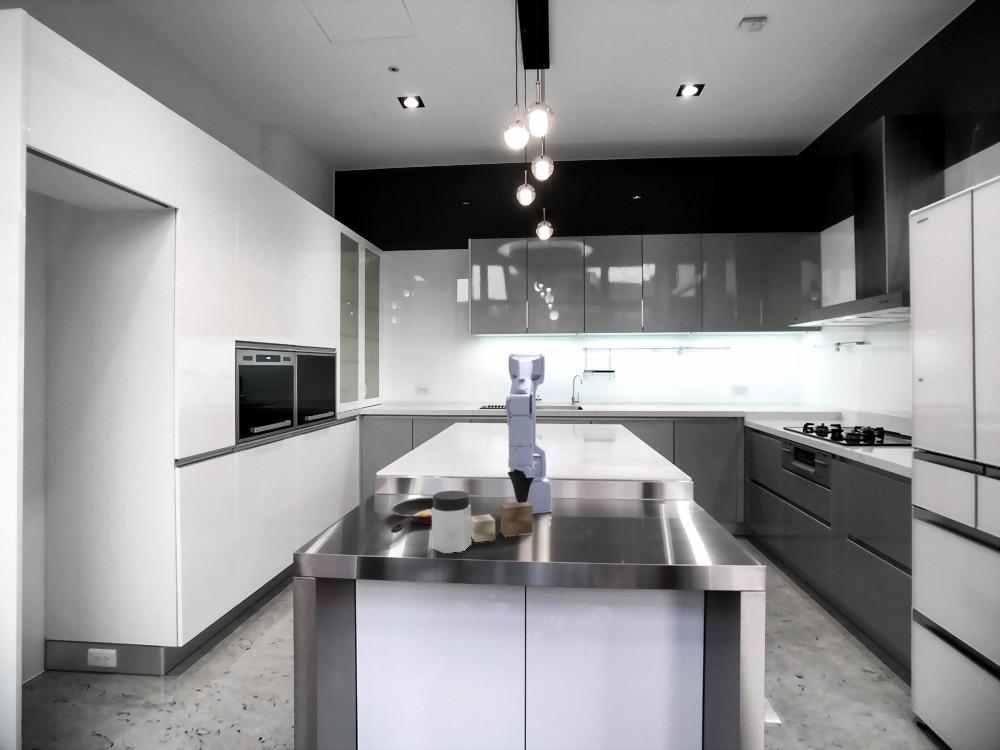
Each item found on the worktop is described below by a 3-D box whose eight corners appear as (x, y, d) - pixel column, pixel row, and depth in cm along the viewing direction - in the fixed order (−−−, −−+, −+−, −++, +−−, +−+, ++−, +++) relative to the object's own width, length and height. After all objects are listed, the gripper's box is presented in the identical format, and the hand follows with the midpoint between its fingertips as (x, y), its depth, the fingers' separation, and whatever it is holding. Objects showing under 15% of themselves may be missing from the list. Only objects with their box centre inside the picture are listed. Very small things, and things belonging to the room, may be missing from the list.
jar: (434, 555, 116) (433, 500, 116) (430, 543, 124) (429, 492, 124) (474, 551, 118) (473, 497, 118) (468, 539, 126) (467, 489, 126)
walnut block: (527, 529, 134) (527, 501, 133) (532, 534, 130) (532, 505, 130) (500, 531, 132) (500, 503, 131) (505, 537, 128) (504, 508, 128)
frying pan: (467, 508, 153) (467, 495, 153) (433, 547, 122) (432, 531, 121) (405, 506, 156) (404, 494, 156) (356, 543, 125) (355, 528, 125)
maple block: (490, 534, 130) (489, 514, 130) (495, 541, 125) (495, 520, 125) (469, 536, 129) (469, 516, 128) (474, 543, 124) (474, 522, 124)
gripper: (547, 448, 120) (548, 508, 120) (527, 439, 134) (527, 493, 134) (517, 450, 118) (518, 511, 118) (500, 441, 132) (500, 495, 132)
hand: (521, 501), depth 126 cm, fingers closed
